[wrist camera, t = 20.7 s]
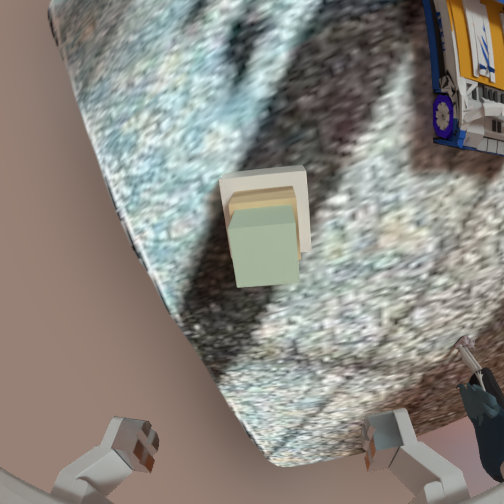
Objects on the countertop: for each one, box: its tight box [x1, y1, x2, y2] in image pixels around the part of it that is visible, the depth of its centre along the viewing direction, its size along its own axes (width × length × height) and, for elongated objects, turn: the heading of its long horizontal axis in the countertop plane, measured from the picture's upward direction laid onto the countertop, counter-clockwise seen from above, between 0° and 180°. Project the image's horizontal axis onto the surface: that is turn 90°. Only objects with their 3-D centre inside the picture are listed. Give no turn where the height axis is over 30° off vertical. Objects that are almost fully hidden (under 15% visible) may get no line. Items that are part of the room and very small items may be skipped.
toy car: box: [422, 0, 504, 156], centre depth 21 cm, size 16×30×10 cm, turn 3°
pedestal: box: [219, 165, 311, 258], centre depth 34 cm, size 9×9×4 cm
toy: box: [455, 336, 504, 483], centre depth 30 cm, size 14×11×30 cm
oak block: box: [228, 186, 301, 260], centre depth 30 cm, size 6×6×5 cm
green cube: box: [228, 204, 300, 288], centre depth 26 cm, size 5×5×5 cm
